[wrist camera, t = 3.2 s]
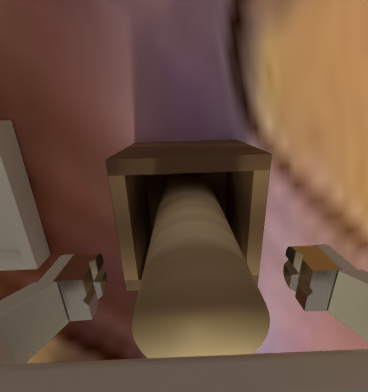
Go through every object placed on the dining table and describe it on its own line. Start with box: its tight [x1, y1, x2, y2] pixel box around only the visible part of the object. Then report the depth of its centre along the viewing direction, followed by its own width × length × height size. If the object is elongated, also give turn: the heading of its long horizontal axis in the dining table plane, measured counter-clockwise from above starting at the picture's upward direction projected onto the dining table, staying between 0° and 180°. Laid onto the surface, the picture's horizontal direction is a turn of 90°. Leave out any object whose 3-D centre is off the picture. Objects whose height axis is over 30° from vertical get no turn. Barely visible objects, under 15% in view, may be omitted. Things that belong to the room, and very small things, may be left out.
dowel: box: [132, 173, 270, 358], centre depth 12 cm, size 4×4×12 cm
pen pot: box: [106, 140, 272, 291], centre depth 15 cm, size 8×8×7 cm
